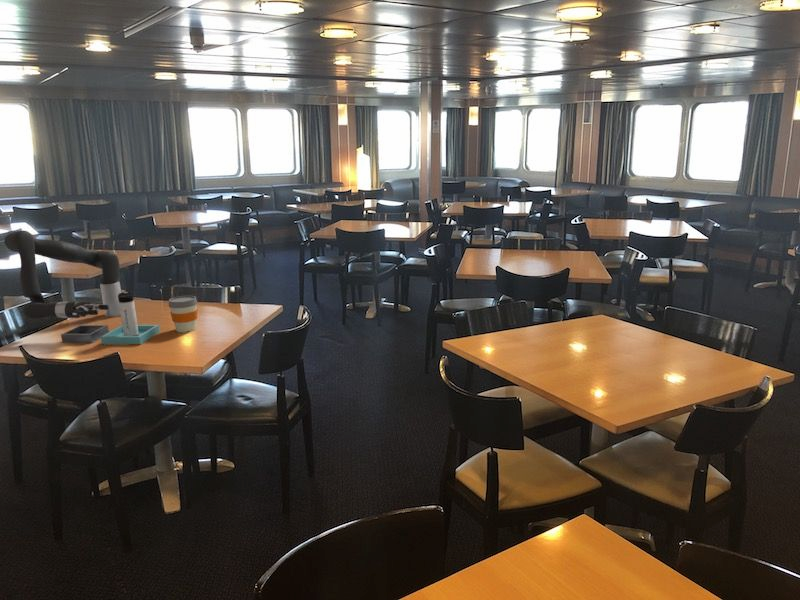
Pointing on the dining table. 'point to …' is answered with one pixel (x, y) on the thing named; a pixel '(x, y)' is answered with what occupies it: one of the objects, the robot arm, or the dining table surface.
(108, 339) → the teal tray
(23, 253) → the robot arm
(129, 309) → the travel mug
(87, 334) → the gray tray
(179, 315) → the reusable coffee cup
